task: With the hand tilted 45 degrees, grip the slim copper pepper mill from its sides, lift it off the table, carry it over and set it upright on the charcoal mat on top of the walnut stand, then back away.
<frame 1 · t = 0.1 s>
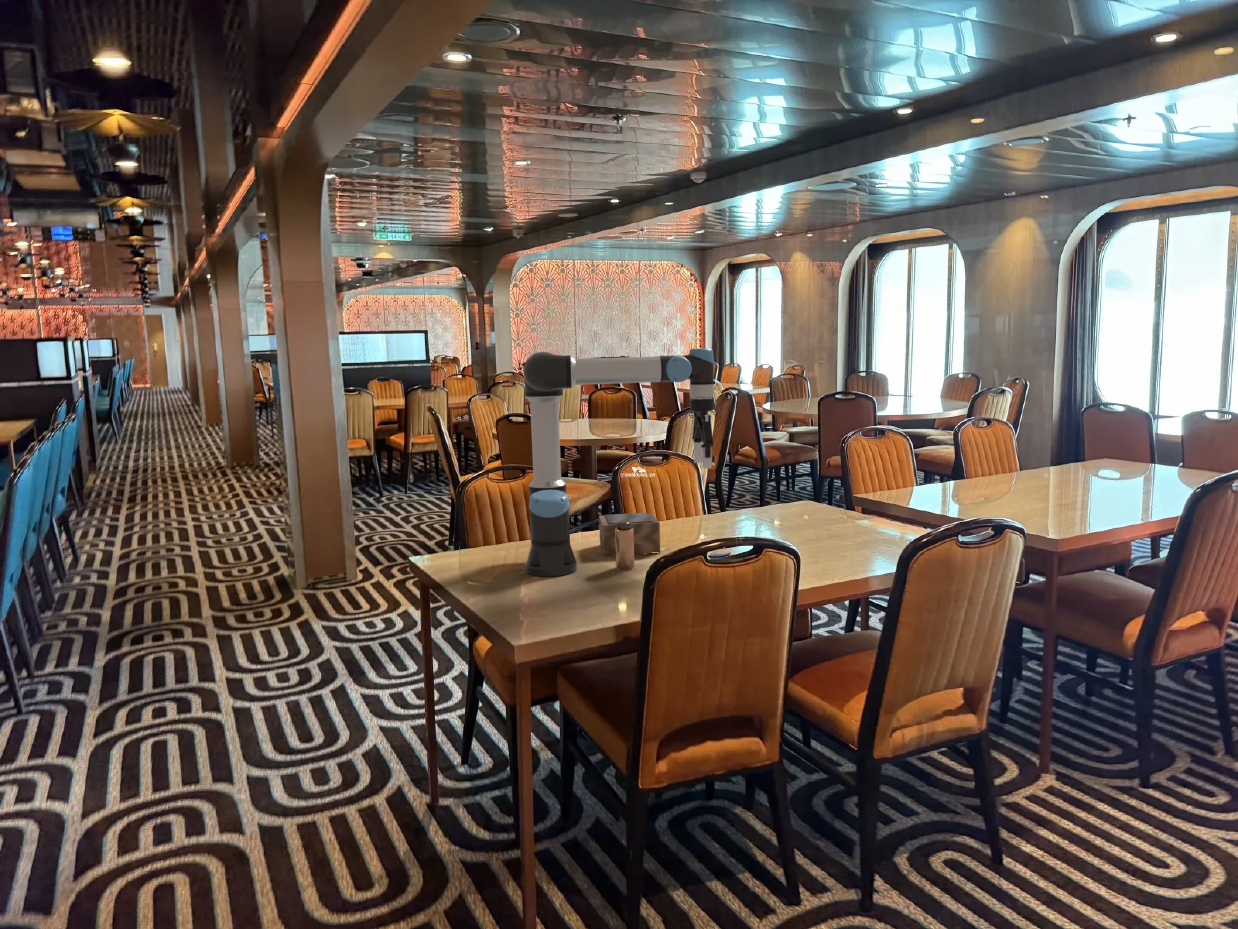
hand: (702, 465, 274), 28 cm above the table, tool pointing down, fingers open, 13 cm apart
teacup with lid: (718, 582, 243), on the table
walnut stand: (629, 549, 284), on the table
copper pepper mill: (625, 568, 260), on the table
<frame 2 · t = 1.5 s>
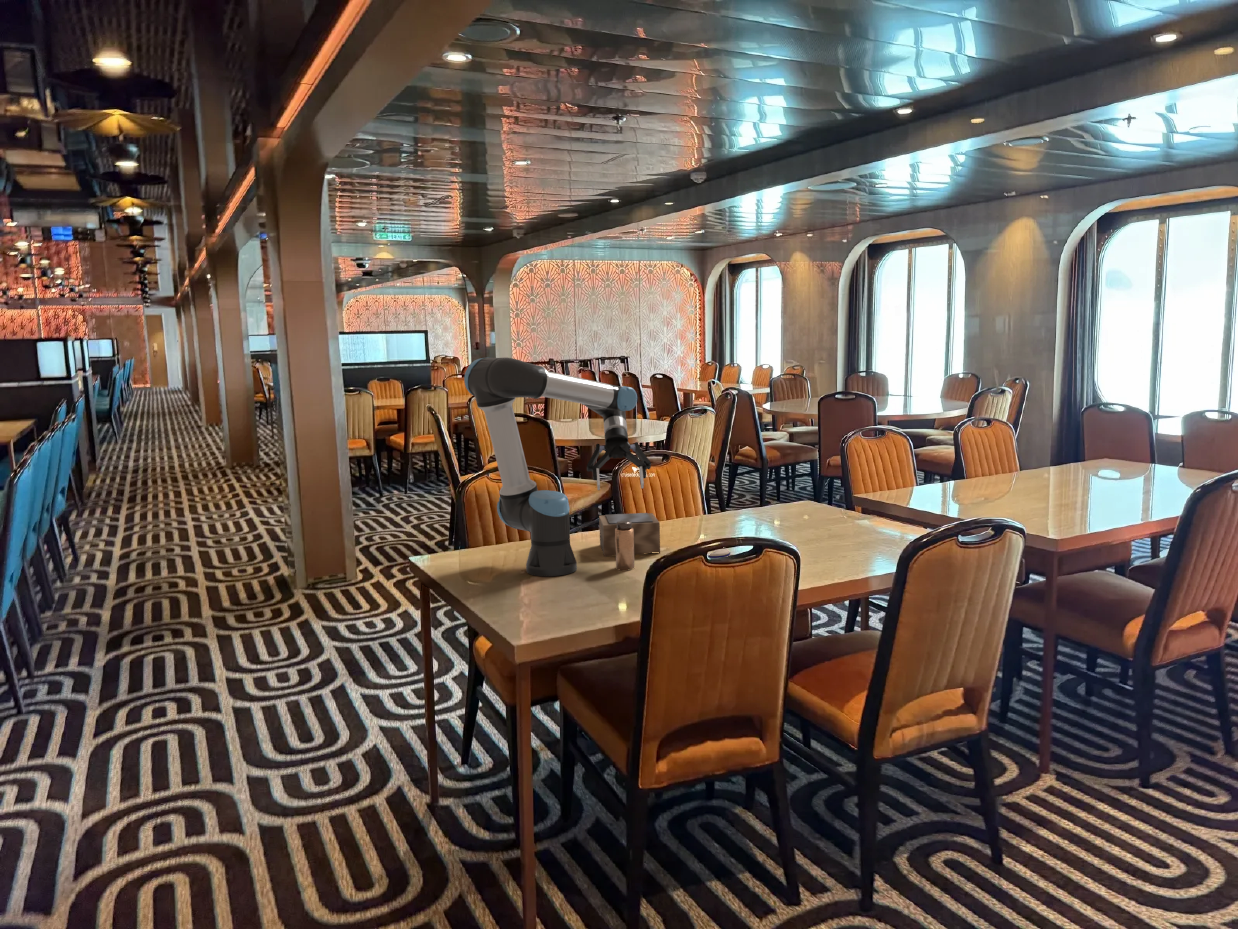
hand: (620, 487, 269), 23 cm above the table, tool tilted 45°, fingers open, 13 cm apart
nothing on the table moved.
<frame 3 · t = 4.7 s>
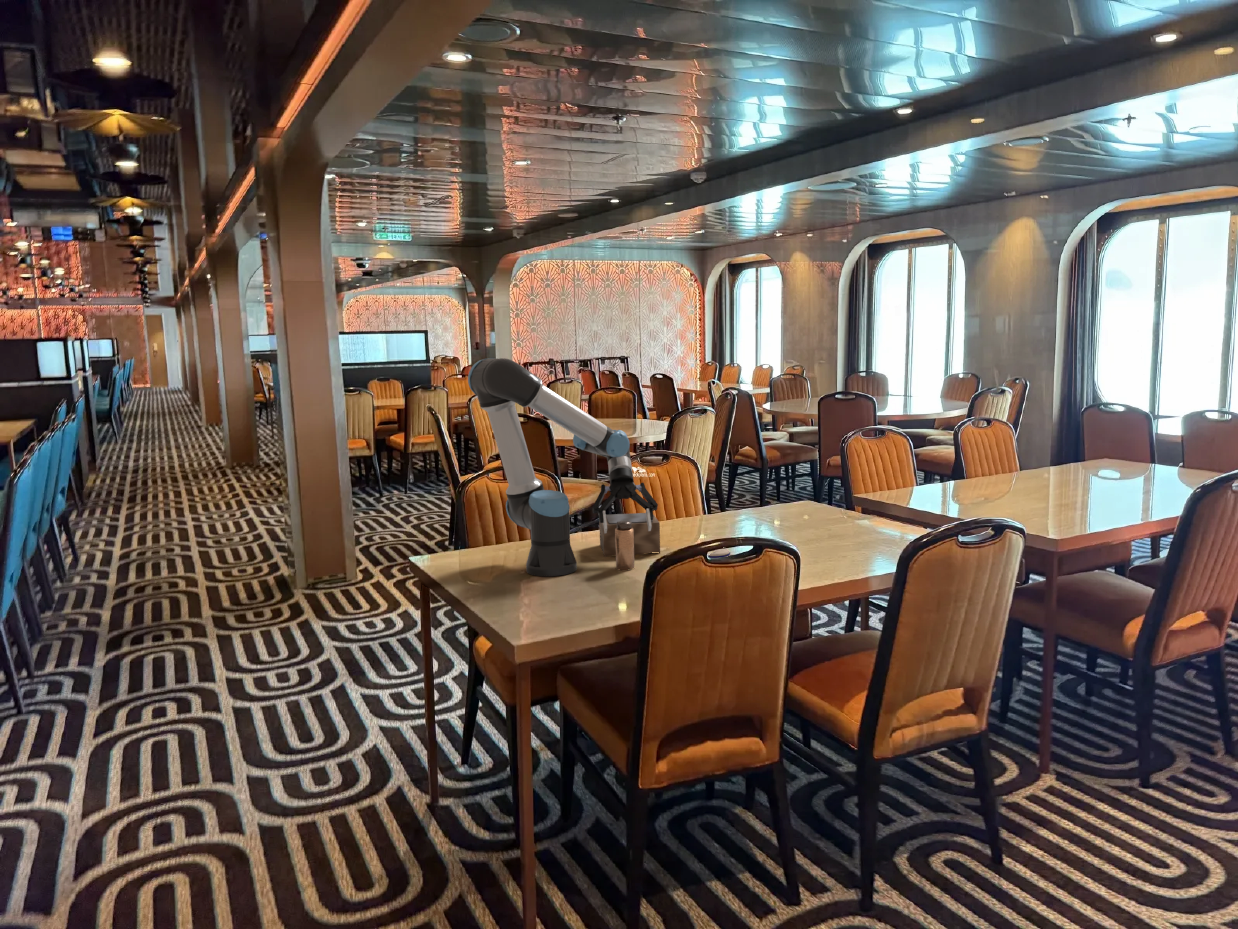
hand: (627, 529, 265), 10 cm above the table, tool tilted 45°, fingers open, 13 cm apart
nothing on the table moved.
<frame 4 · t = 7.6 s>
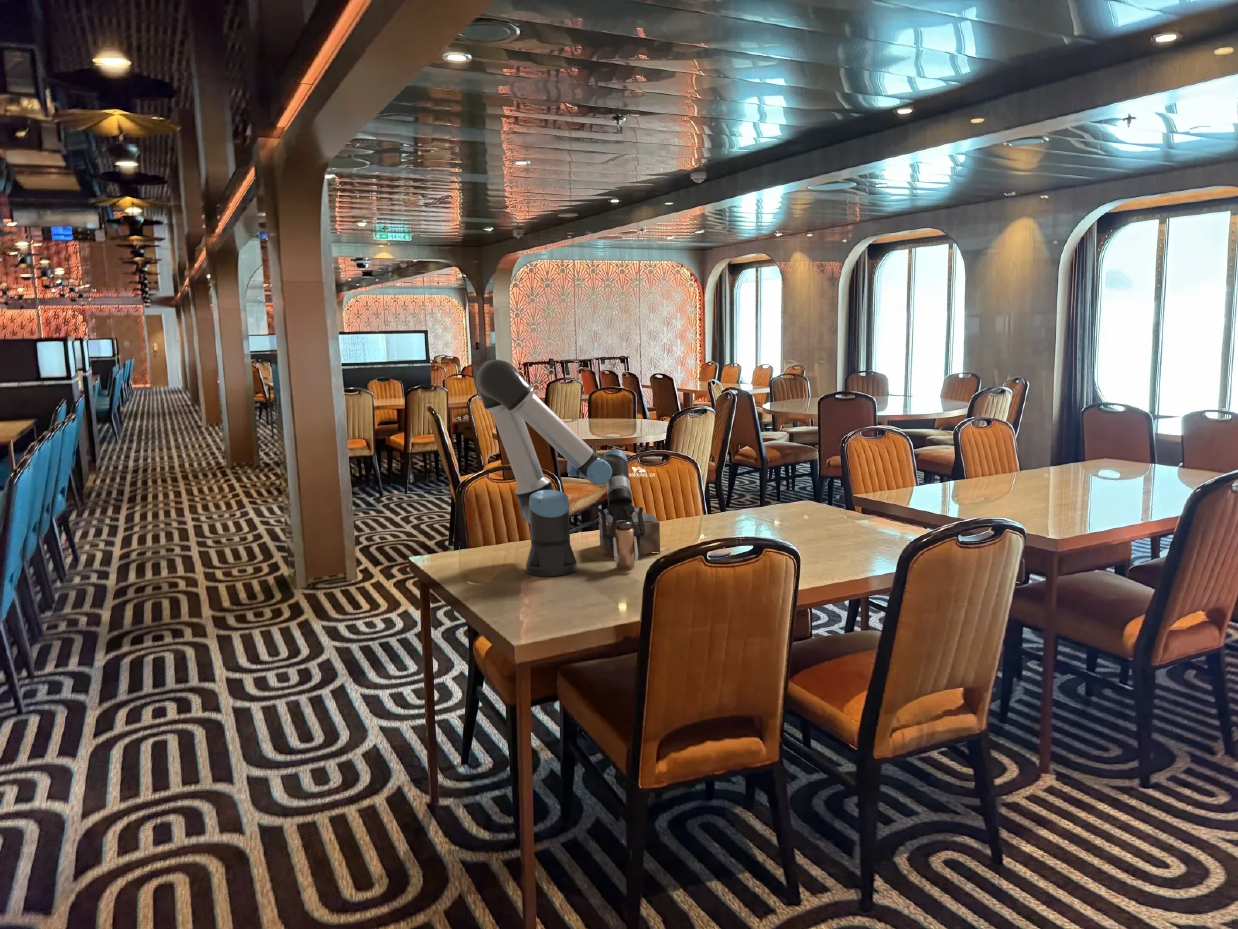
hand: (626, 557, 256), 4 cm above the table, tool tilted 45°, fingers closed on copper pepper mill, 5 cm apart
copper pepper mill: (625, 568, 260), on the table, touching gripper
everything else where it was.
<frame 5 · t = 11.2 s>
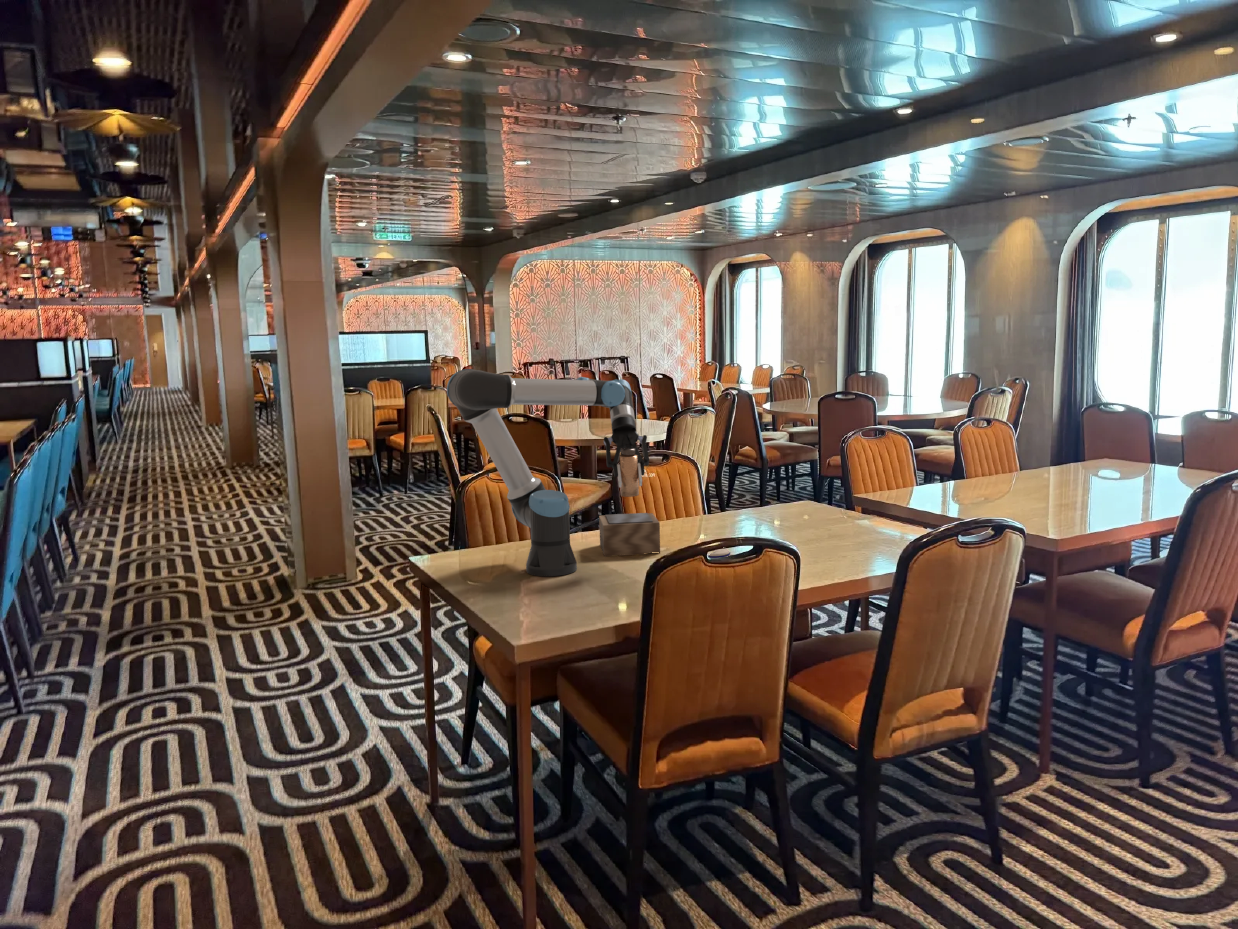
hand: (630, 483, 258), 25 cm above the table, tool tilted 45°, fingers closed on copper pepper mill, 5 cm apart
copper pepper mill: (629, 494, 263), point 21 cm above the table, touching gripper
everything else where it was.
when the fingers open (16 cm above the table, at t = 14.8 s): copper pepper mill drops 1 cm, resting on walnut stand.
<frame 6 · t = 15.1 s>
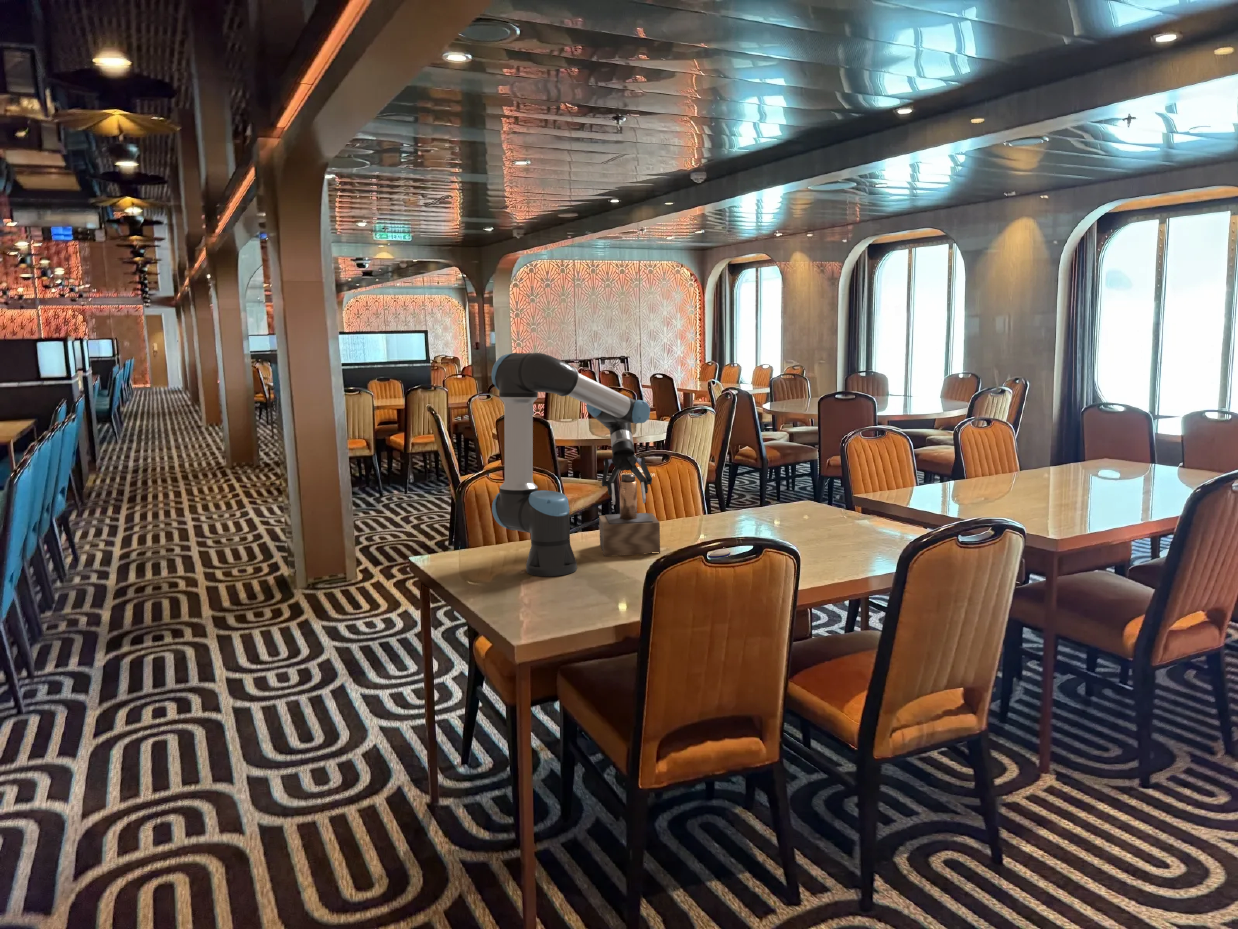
hand: (629, 501, 279), 16 cm above the table, tool tilted 45°, fingers open, 9 cm apart
copper pepper mill: (628, 517, 283), point 10 cm above the table, touching walnut stand
everything else where it was.
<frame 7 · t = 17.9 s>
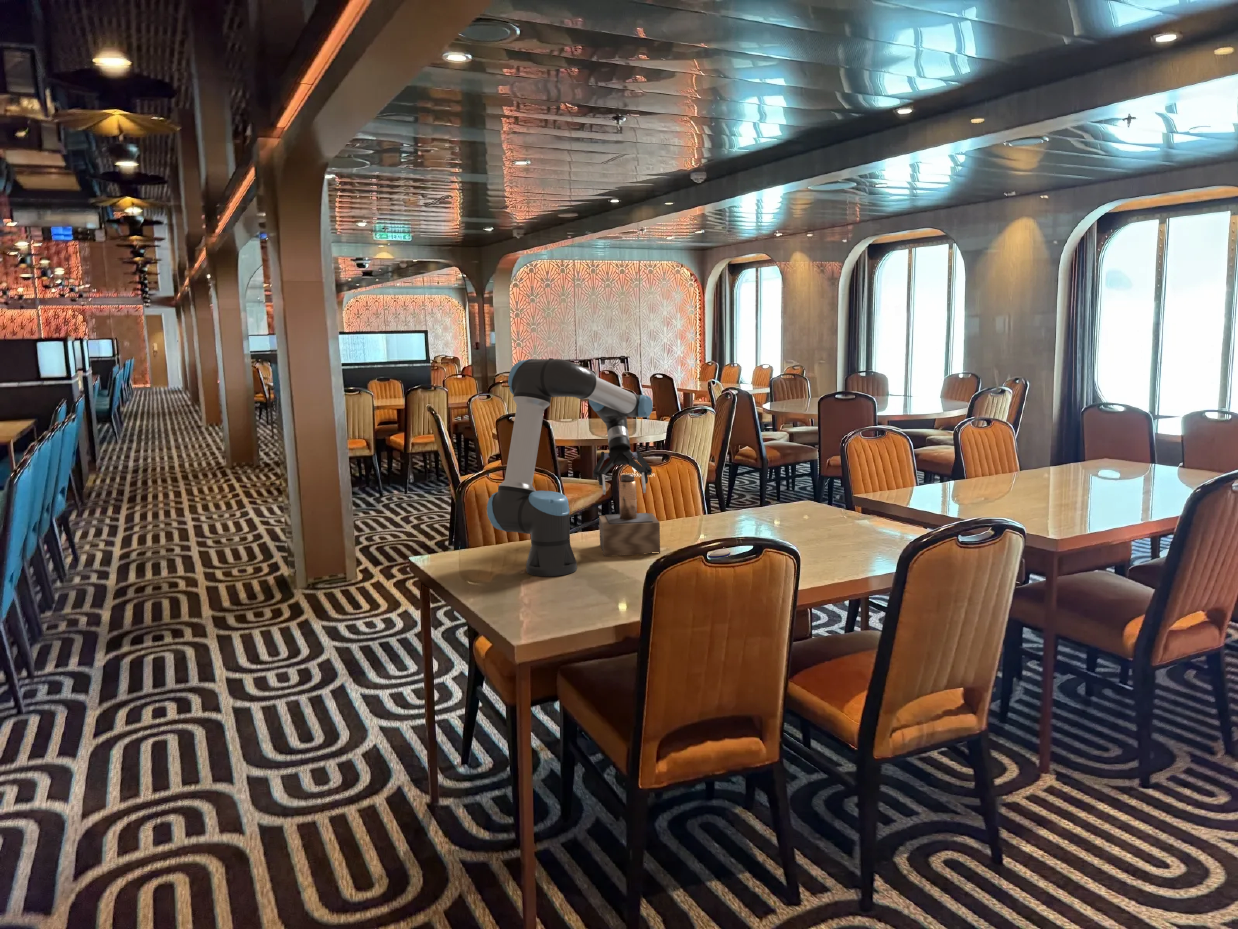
hand: (624, 491, 292), 17 cm above the table, tool tilted 45°, fingers open, 13 cm apart
nothing on the table moved.
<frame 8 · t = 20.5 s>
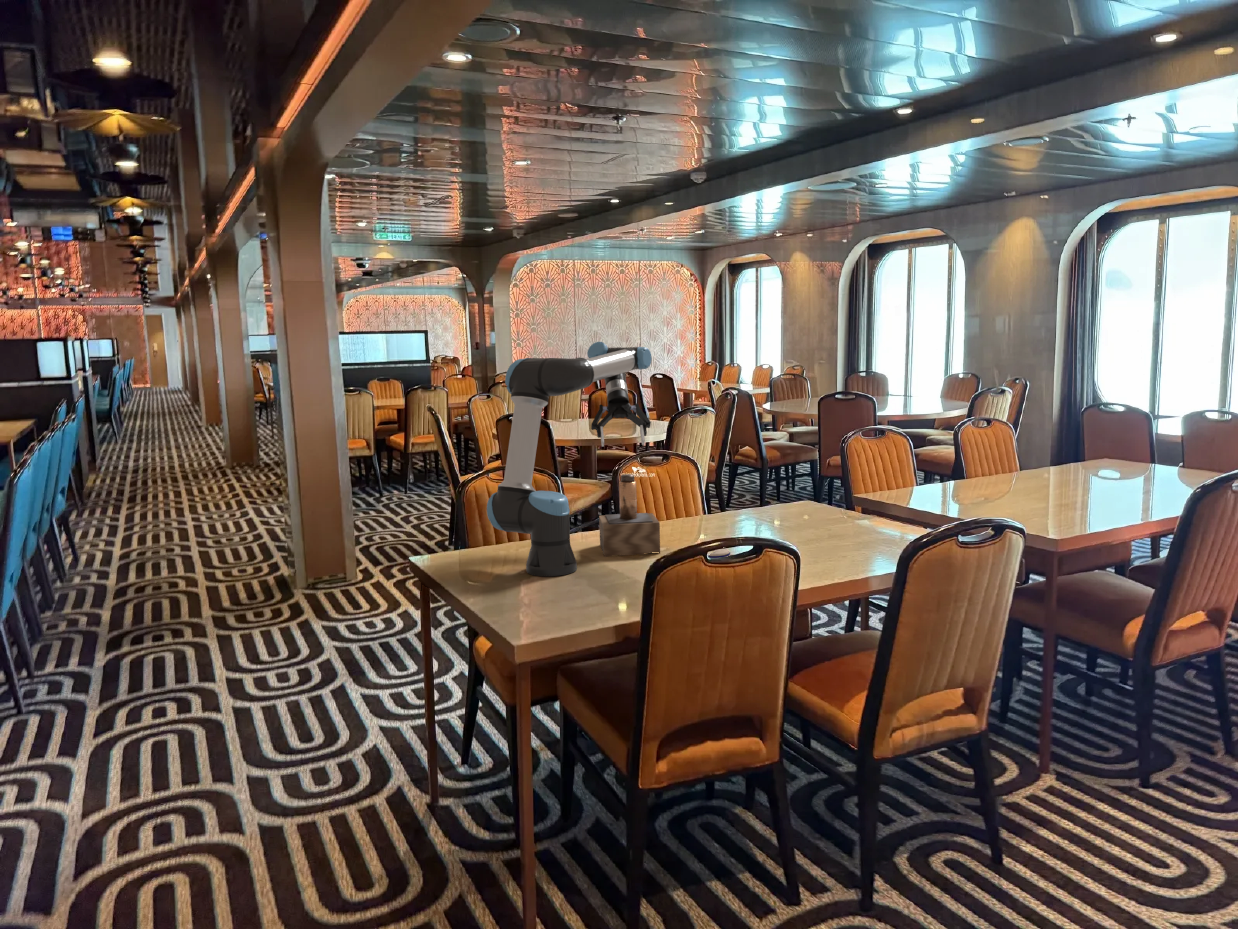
hand: (623, 443, 290), 34 cm above the table, tool tilted 45°, fingers open, 13 cm apart
nothing on the table moved.
at the end: copper pepper mill inside the target area on the walnut stand (0.0 cm from its centre), point 10.4 cm above the walnut stand's base; copper pepper mill tilted 1°; the gripper is holding nothing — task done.
